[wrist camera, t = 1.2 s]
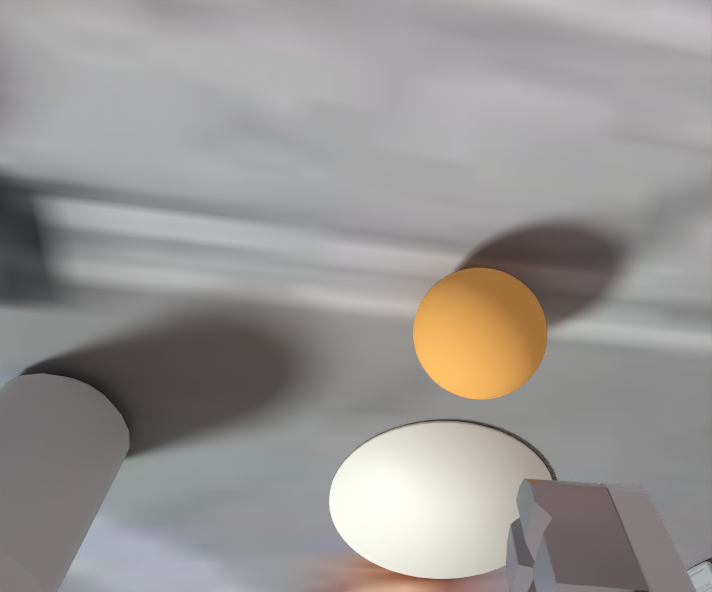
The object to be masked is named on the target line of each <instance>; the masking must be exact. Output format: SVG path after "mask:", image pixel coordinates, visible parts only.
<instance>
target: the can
mask: <svg viewBox="0 0 712 592" xmlns="http://www.w3.org/2000/svg"><path fill="white" fill-rule="evenodd" d="M129 448H130V444H129V430H128V428H127V426H126V424H125V421H124V419H123V417H122V415H121V414H120V413H119V411H118V410H117V409H116V408H115V406H114V405H113V404H112V403H111V402H110V401H109V400H108V399H107V397H106V396H105V395H104V394H102V393H101V392H99V391H98V390H96V389H95V388H94V387H92V386H91V385H89V384H87V383H84V382H82V381H79V380H77V379H74V378H70V377H64V376H58V375H50V374H44V373H41V374H31V375H21V376H19V377H17V378H15V379H12V380H10V381H8V382H6V383H4V384H3V385H2V386H1V387H0V592H57V591H58V589H59V587H60V585H61V583H62V581H63V579H64V577H65V575H66V573H67V571H68V569H69V567H70V565H71V563H72V562H73V560H74V558H75V556H76V554H77V552H78V550H79V548H80V546H81V544H82V542H83V540H84V538H85V536H86V534H87V532H88V530H89V528H90V526H91V524H92V522H93V520H94V518H95V516H96V514H97V512H98V510H99V508H100V506H101V504H102V502H103V500H104V498H105V497H106V495H107V493H108V491H109V489H110V487H111V485H112V483H113V481H114V479H115V477H116V475H117V473H118V471H119V469H120V467H121V465H122V463H123V461H124V459H125V457H126V454H127V452H128V450H129Z"/></svg>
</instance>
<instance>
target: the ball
mask: <svg viewBox="0 0 712 592" xmlns="http://www.w3.org/2000/svg"><path fill="white" fill-rule="evenodd" d="M413 338H414V345H415V350H416V353H417V356H418V358H419V360H420V362H421V365H422V366H423V368H424V369H425V371H426V372H427V373H428V375H429V376H430V377H431V378H432V379H433V380H434V381H435V382H436V383H437V384H439V385H440V386H441V387H442V388H444V389H446V390H447V391H449V392H451V393H454V394H456V395H458V396H461V397H465V398H470V399H492V398H497V397H500V396H504V395H506V394H509V393H511V392H513V391H515V390H516V389H518V388H519V387H521V386H522V385H523V384H524V383H526V382H527V381H528V380H529V379H530V378H531V377H532V375H533V374H534V373H535V372H536V370H537V369H538V367H539V365H540V363H541V361H542V359H543V356H544V353H545V350H546V345H547V324H546V319H545V315H544V312H543V309H542V307H541V305H540V304H539V302H538V300H537V298H536V297H535V295H534V294H533V293H532V292H531V290H530V289H529V288H528V287H527V286H526V285H525V284H524V283H522V282H521V281H519V280H518V279H517V278H515V277H513V276H511V275H509V274H508V273H505V272H502V271H499V270H495V269H490V268H468V269H464V270H460V271H457V272H454V273H452V274H450V275H448V276H446V277H444V278H443V279H441V280H440V281H438V282H437V283H436V284H435V285H434V286H433V287H432V288H431V289H430V290H429V291H428V292H427V294H426V295H425V297H424V298H423V299H422V301H421V303H420V305H419V307H418V310H417V313H416V316H415V320H414V328H413Z"/></svg>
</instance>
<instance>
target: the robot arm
mask: <svg viewBox="0 0 712 592" xmlns="http://www.w3.org/2000/svg"><path fill="white" fill-rule="evenodd" d="M516 502H517V507H518V511H519V516H520V517H519V518H518V519H517V520H515V521H514V522H513V523H511V524H510V529H509V534H508V540H507V552H506V569H507V580H508V586H509V592H697V591H696V589H695V587H694V585H693V583H692V581H691V579H690V577H689V575H688V573H687V571H686V569H685V567H684V565H683V563H682V561H681V559H680V557H679V555H678V553H677V551H676V548H675V546H674V544H673V542H672V540H671V538H670V536H669V534H668V532H667V530H666V528H665V526H664V524H663V522H662V520H661V518H660V516H659V514H658V512H657V510H656V508H655V506H654V504H653V502H652V500H651V498H650V496H649V494H648V492H647V491H646V490H645V489H644V488H643V487H642V486H638V485H621V484H604V483H602V484H597V483H584V482H569V481H554V480H539V479H523V481H522V483H521V484H520V486H519V490H518V494H517V498H516Z"/></svg>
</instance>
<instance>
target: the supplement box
mask: <svg viewBox="0 0 712 592" xmlns="http://www.w3.org/2000/svg"><path fill="white" fill-rule="evenodd" d="M687 573H688V575H689V577H690V579H691V581H692V583H693V585H694V587H695V589H696V591H697V592H712V563H711V562H709V561H705V562H702V563H700V564H699V565H697V566H695V567H693V568H691V569H689V570H687Z"/></svg>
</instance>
